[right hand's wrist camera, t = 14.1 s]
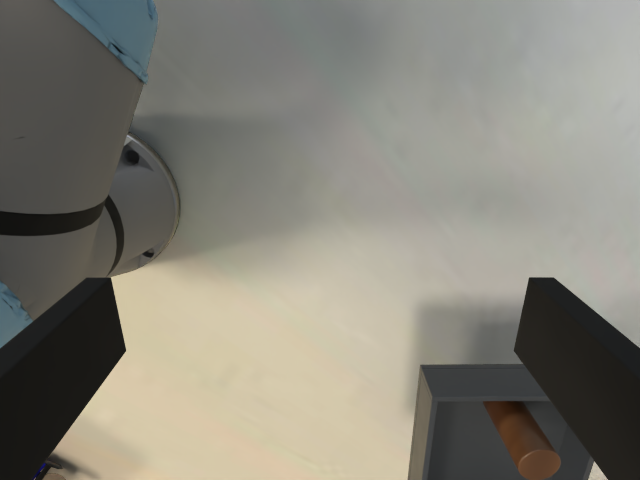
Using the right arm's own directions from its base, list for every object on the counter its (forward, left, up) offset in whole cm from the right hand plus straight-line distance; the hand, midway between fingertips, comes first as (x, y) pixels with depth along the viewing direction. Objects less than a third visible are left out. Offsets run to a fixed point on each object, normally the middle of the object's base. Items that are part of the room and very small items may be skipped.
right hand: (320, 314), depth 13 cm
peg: (+17, -20, -18) cm, 32 cm away
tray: (+17, -31, -19) cm, 40 cm away
